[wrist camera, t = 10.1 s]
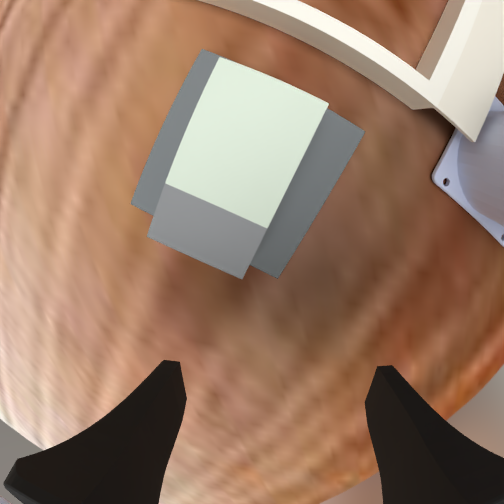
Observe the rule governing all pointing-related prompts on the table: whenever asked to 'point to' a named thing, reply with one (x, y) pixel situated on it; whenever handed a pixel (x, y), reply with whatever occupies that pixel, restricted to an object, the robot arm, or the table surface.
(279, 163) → the sage box
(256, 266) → the grey mat
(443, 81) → the white tray frame
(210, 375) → the table surface
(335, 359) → the table surface
